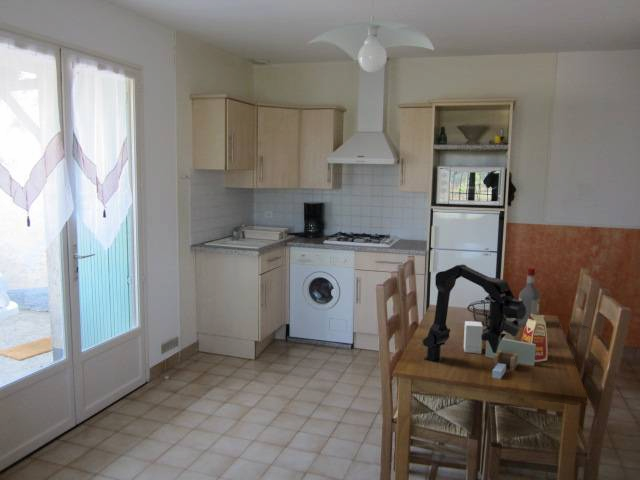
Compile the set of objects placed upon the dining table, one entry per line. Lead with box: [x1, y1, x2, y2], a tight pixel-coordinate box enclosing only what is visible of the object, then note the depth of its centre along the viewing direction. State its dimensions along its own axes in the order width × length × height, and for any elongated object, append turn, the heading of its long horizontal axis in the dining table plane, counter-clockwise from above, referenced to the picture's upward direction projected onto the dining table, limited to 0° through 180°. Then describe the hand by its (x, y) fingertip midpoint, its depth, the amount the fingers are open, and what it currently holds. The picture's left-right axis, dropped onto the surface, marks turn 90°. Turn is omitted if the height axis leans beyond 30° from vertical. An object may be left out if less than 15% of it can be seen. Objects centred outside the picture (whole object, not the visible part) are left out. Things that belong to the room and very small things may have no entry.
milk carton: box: [521, 314, 548, 363], centre depth 226 cm, size 9×9×20 cm
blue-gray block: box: [491, 363, 507, 380], centre depth 209 cm, size 9×3×3 cm, turn 147°
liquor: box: [518, 267, 541, 327], centre depth 274 cm, size 9×9×30 cm
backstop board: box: [485, 338, 536, 367], centre depth 224 cm, size 2×20×9 cm, turn 58°
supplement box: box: [463, 320, 484, 354], centre depth 235 cm, size 7×7×13 cm
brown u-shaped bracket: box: [492, 350, 518, 372], centre depth 218 cm, size 7×8×5 cm
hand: (494, 352), depth 199 cm, fingers closed
